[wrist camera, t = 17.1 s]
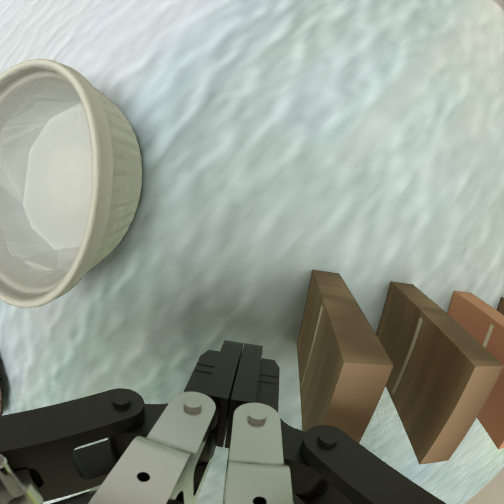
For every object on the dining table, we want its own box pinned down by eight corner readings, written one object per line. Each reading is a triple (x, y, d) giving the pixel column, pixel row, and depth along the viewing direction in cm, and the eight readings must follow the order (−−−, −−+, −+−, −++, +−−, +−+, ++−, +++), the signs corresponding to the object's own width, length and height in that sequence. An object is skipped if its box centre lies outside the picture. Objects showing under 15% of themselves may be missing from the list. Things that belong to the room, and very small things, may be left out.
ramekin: (139, 300, 19) (82, 349, 13) (10, 245, 20) (-51, 265, 13) (186, 96, 17) (137, 55, 10) (38, 85, 17) (-24, 67, 10)
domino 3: (431, 356, 18) (497, 449, 9) (453, 290, 17) (547, 362, 8) (449, 356, 18) (516, 443, 9) (470, 293, 17) (563, 360, 7)
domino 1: (296, 344, 19) (303, 467, 9) (312, 269, 18) (343, 362, 8) (321, 347, 19) (345, 468, 9) (339, 273, 18) (394, 365, 8)
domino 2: (369, 352, 19) (419, 464, 9) (390, 281, 18) (475, 366, 8) (391, 354, 19) (448, 460, 9) (413, 284, 17) (503, 365, 8)
